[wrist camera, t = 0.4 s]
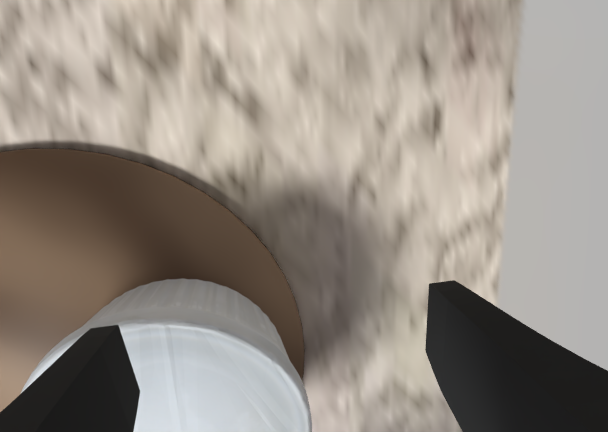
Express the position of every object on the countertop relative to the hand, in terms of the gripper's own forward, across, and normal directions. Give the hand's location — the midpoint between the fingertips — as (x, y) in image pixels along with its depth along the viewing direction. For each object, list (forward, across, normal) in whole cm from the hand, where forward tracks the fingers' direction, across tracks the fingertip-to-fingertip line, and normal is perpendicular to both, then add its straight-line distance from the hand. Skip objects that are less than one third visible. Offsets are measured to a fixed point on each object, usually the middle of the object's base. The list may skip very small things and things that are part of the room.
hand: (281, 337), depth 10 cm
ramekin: (+9, +5, +8) cm, 14 cm away
